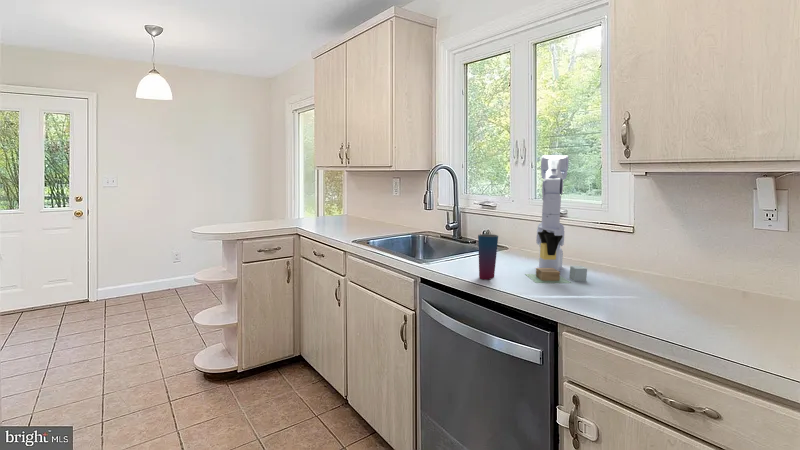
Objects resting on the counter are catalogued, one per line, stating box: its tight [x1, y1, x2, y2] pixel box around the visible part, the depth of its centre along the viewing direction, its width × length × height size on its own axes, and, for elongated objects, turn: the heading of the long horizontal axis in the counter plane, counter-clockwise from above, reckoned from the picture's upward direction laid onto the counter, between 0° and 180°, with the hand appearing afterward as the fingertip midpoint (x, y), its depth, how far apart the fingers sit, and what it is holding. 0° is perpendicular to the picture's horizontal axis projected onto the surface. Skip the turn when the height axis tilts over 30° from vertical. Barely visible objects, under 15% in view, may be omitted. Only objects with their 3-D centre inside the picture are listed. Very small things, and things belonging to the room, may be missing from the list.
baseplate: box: [524, 273, 572, 284], centre depth 145 cm, size 12×12×1 cm
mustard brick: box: [539, 243, 556, 260], centre depth 144 cm, size 4×4×5 cm
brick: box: [569, 265, 588, 282], centre depth 144 cm, size 4×4×5 cm
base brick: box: [535, 268, 561, 281], centre depth 145 cm, size 6×6×3 cm
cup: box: [477, 233, 499, 281], centre depth 146 cm, size 7×7×15 cm
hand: (548, 253), depth 144 cm, fingers closed on mustard brick, 4 cm apart
